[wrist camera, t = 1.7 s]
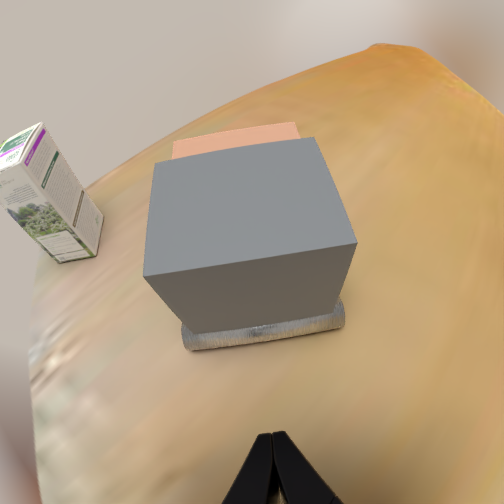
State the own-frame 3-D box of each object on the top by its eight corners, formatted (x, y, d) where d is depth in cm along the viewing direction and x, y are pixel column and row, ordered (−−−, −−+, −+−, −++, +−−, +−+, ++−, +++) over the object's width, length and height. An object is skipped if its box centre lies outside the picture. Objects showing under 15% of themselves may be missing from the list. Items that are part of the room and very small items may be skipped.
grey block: (332, 313, 21) (357, 242, 13) (193, 334, 21) (142, 276, 14) (308, 224, 25) (314, 137, 18) (190, 243, 26) (155, 163, 18)
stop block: (300, 184, 32) (301, 139, 26) (187, 202, 32) (171, 160, 27) (294, 165, 33) (293, 121, 28) (188, 182, 33) (173, 141, 28)
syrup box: (105, 215, 32) (43, 116, 20) (97, 259, 29) (17, 159, 17) (67, 224, 32) (3, 137, 20) (57, 266, 29) (-23, 180, 17)
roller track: (341, 330, 23) (346, 320, 21) (191, 353, 23) (182, 346, 21) (307, 205, 30) (308, 189, 28) (187, 225, 30) (180, 209, 28)
